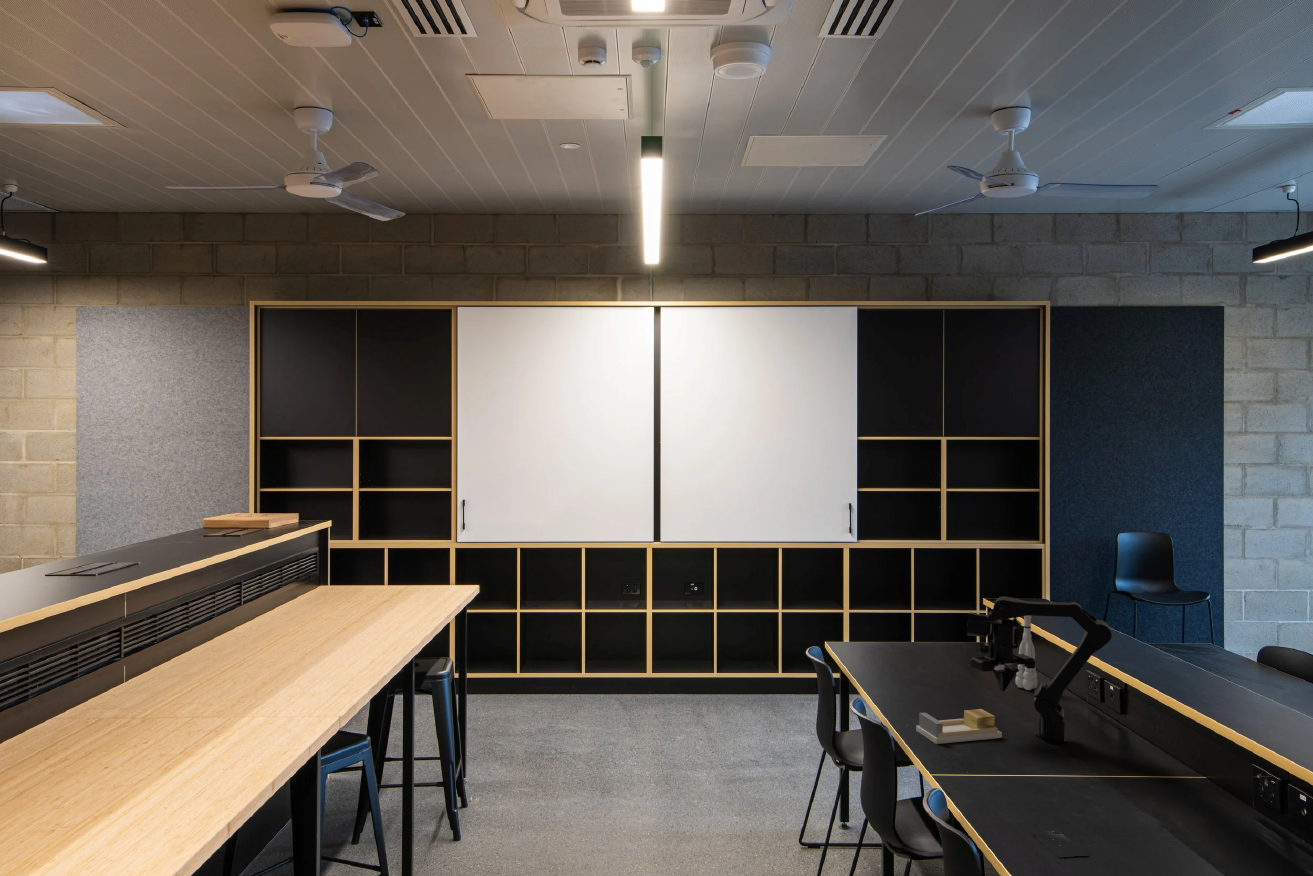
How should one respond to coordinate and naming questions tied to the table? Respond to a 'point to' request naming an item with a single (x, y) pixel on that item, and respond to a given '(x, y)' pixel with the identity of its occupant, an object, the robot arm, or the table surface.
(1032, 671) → the rocket model
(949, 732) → the track
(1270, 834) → the table surface
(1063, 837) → the solid state drive
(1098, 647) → the robot arm
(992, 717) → the block
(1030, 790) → the table surface
